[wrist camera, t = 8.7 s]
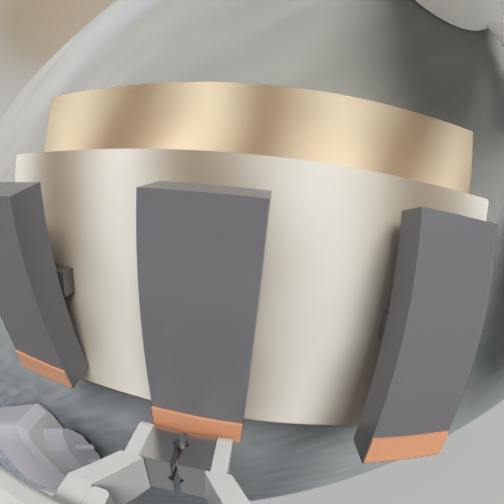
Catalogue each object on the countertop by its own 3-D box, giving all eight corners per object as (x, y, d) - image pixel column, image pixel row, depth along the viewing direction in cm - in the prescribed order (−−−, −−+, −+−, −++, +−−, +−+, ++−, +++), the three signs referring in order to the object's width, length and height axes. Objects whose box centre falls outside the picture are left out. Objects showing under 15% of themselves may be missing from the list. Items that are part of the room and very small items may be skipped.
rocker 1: (40, 181, 7) (7, 197, 6) (87, 365, 11) (72, 389, 10) (-9, 182, 8) (-38, 197, 6) (40, 347, 11) (24, 368, 10)
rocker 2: (271, 190, 8) (269, 199, 6) (244, 413, 10) (240, 444, 9) (159, 180, 8) (134, 187, 6) (167, 399, 10) (155, 427, 9)
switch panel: (458, 134, 12) (526, 121, 7) (393, 409, 16) (418, 472, 11) (67, 101, 14) (0, 83, 8) (72, 360, 18) (25, 404, 12)
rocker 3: (473, 225, 8) (500, 224, 7) (422, 434, 9) (437, 455, 7) (401, 210, 8) (423, 206, 7) (353, 439, 9) (363, 464, 7)
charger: (143, 469, 20) (54, 464, 23) (78, 392, 19) (5, 403, 21) (125, 507, 16) (36, 488, 18) (47, 428, 14) (-19, 425, 16)
